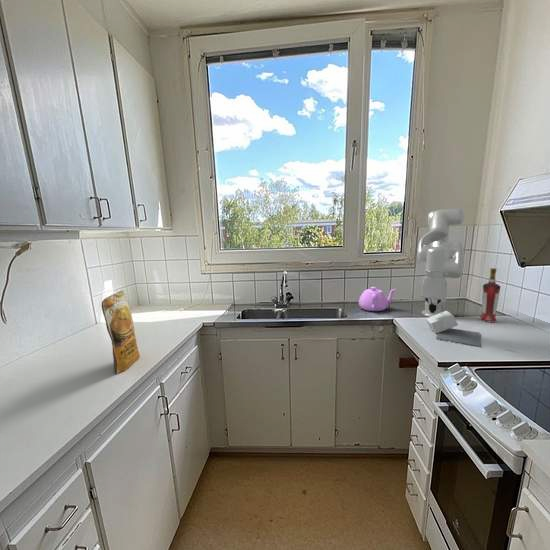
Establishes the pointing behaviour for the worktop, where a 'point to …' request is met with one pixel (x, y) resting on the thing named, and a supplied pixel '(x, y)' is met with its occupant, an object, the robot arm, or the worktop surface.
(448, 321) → the small box
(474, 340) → the mat
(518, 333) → the worktop surface
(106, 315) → the pancake mix bag
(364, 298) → the teapot
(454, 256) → the robot arm
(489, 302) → the liquor
